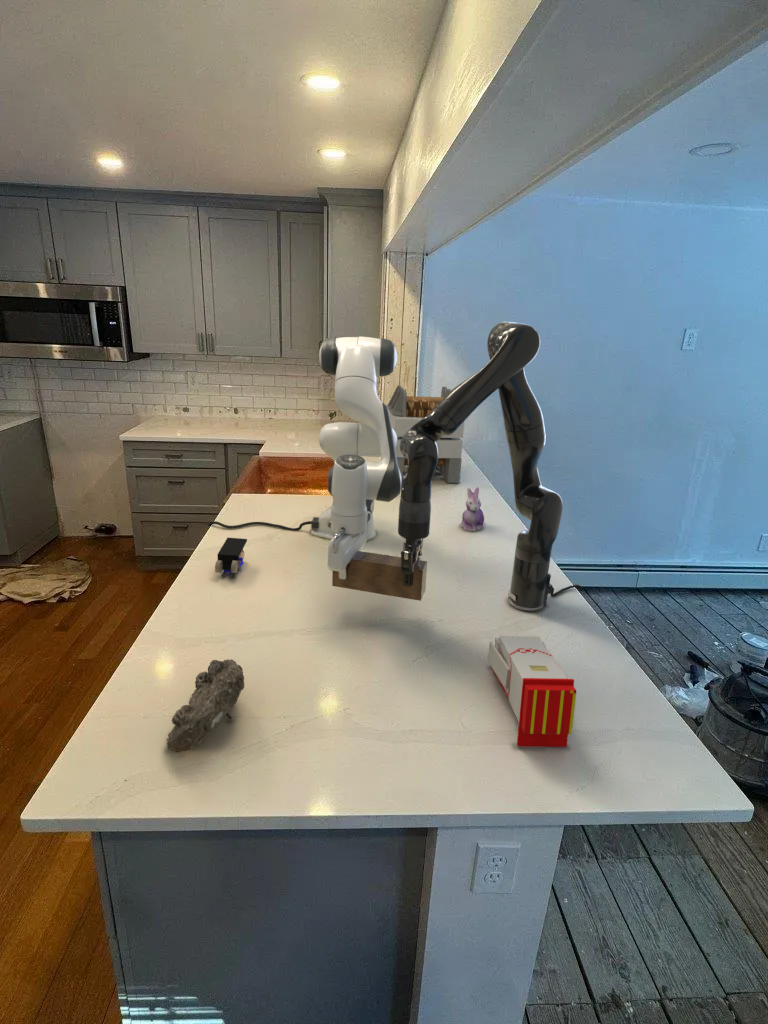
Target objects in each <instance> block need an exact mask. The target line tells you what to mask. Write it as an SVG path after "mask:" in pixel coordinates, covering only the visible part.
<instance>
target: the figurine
mask: <svg viewBox="0 0 768 1024" xmlns="http://www.w3.org/2000/svg"><path fill="white" fill-rule="evenodd" d="M466 491H467V493H466V494H467V499H466V501H465V507H466V509H465V510H464V511H463V513H462V516H461V517H462V518H461V519H462V520H461V527H462V528H463V530H464V531H469V532H475V531H480V530H481V529H482V528H484V523H485V515H484V512H483V510H482V509H481V507H482V502H481V499H480V497H479V494H480V488H479V487H478V486H477V487H476V488H475V489H474V490H473V491H472V490H471V488H469V487H468V488H467V489H466Z"/></svg>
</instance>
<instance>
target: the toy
mask: <svg viewBox="0 0 768 1024" xmlns="http://www.w3.org/2000/svg"><path fill="white" fill-rule="evenodd" d="M488 643H489V644H488V651H487V658H486V659H487V662H488V664H489V666H490V668H491V669H492V672H493V674H494V675H495V677H496V679H497V681H498V682H499V684H500V687H501V688H502V691H503V692H504V694H505V697H507V699H508V702H509V705H510V706H511V709H512V710H513V713H514V714H515V717H516V720H517V721H518V728H517V729H518V730H517V741H516V746H517V747H520V748H521V747H522V748H523V747H525V748H527V747H529V748H531V747H532V748H533V747H534V748H545V747H546V748H567V747H568V740H569V735H572V733H573V725H574V716H575V708H576V700H577V689H576V687H575V686H574V685H575V679H574V678H569V677H568V676H567V675H566V673H565V672H564V670H563V669H562V668H561V667H560V665H559V663H558V662H557V661H556V659H555V658H554V656H553V654H552V653H551V652H550V650H549V649H548V648H547V646H546V644H545V642H544V641H543V640H542V639H541V638H540V636H534V635H533V636H532V635H530V636H527V635H526V636H525V635H524V636H523V635H498V637H497V636H496V637H494V643H493V641H489V642H488Z"/></svg>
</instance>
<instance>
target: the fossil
mask: <svg viewBox="0 0 768 1024" xmlns="http://www.w3.org/2000/svg"><path fill="white" fill-rule="evenodd" d="M243 670H244V669H243V667H242V665H240V664H237V662H236V661H235V660H234V659H232V658H231V659H227V658H226V659H224V660H223V661H222V660H217V659H212V660H211V661H210V663H209V665H208V666H207V671H201V672H199V673H198V674H197V675H196V676H195V680H194V684H195V685H194V687H195V689H194V690H193V693H192V694H191V697H190V698H189V700H188V704H184V705H182V706H181V707H180V709H177V710H176V711H175V713H174V715H173V716H172V718H171V723H172V724H173V727H172V730H171V731H170V732H168V734H167V738H166V741H167V742H166V745H167V749H168V750H169V751H173V752H174V753H176V754H178V753H182V752H188V751H189V752H192V751H193V750H195V748H196V747H197V746H199V744H200V743H201V742H203V741H204V740H205V739H206V738H207V737H208V736H209V735H210V734H211V733H212V732H214V730H215V729H217V727H218V726H219V724H220V722H221V721H222V720H223V719H224V718H225V716H226V717H227V719H229V720H233V717H232V715H230V714H229V710H230V709H231V708H234V706H235V704H236V703H237V702H238V699H239V697H240V695H241V693H242V691H243V690H245V689H244V688H245V675H244V671H243Z"/></svg>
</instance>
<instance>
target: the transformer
mask: <svg viewBox="0 0 768 1024" xmlns="http://www.w3.org/2000/svg"><path fill="white" fill-rule="evenodd" d="M451 390H452V389H451V388H447V386H442V387H441V392H440V393H441V394H440V396H415V395H414V396H413V395H412V396H411V395H407V394H408V393H407V390H406V389H404V388H403V387H402V385H399V384H398V385H397V386H396V388H395V390H394V392H393V394H392V395H391V398H390V400H389V402H388V404H386V406H387V408H388V411H389V414H390V419H391V425H392V428H393V429H394V431H395V433H396V435H397V446H396V448H395V450H396V456H397V462H398V467H399V470H400V473H401V477H402V478H403V476H404V469H405V466H406V467H408V463H409V461H408V459H406V458H405V457H404V456H403V455H402V453H401V451H400V442H401V439H402V437H403V436H404V434H405V433H406V432H407V431H408V430H409V429H410V428H411V427H412V426H414V425H415V424H416V423H417V422H419V421H420V420H421V419H423V418H424V417H426V416H427V415H429V414H430V413H431V412H432V411H433V409H434V408H435V407H436V406H437V405H438V404H439V403H440V402H441V400H442V399H443V398H444V397H445V396H446V395H447V394H448V393H449V392H450V391H451ZM464 429H465V421H464V422H463V423H462V424H461V426H460V427H459V428H458V429H457V430H456V431H455V432H454V433H453V434H451V435H449V436H443V437H441V438H440V439H438V440H437V441H436V444H437V447H438V461H437V465H436V468H437V470H438V469H439V473H440V474H441V475H443V478H444V479H445V481H446V482H447V483H449V484H455V483H456V484H459V483H461V472H462V461H463V460H462V453H463V442H464V441H463V440H462V439H463V438H464V431H465V430H464Z"/></svg>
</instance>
